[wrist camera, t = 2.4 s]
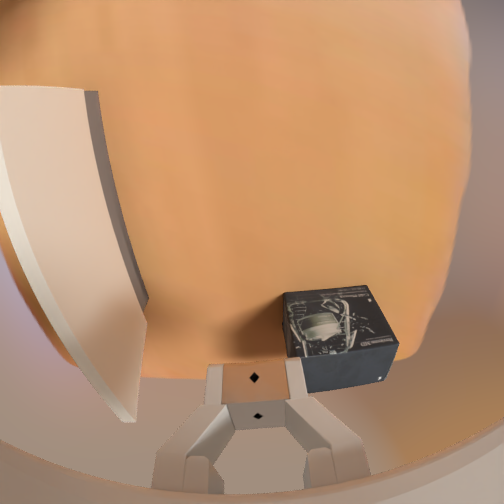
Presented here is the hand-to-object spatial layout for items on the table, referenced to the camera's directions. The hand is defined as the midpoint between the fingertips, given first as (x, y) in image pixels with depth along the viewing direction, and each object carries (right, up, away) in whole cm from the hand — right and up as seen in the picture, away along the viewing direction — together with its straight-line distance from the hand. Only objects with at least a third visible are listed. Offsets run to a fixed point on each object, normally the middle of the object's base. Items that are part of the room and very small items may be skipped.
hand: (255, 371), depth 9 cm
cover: (-12, +4, +9) cm, 16 cm away
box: (+9, -3, +26) cm, 27 cm away
